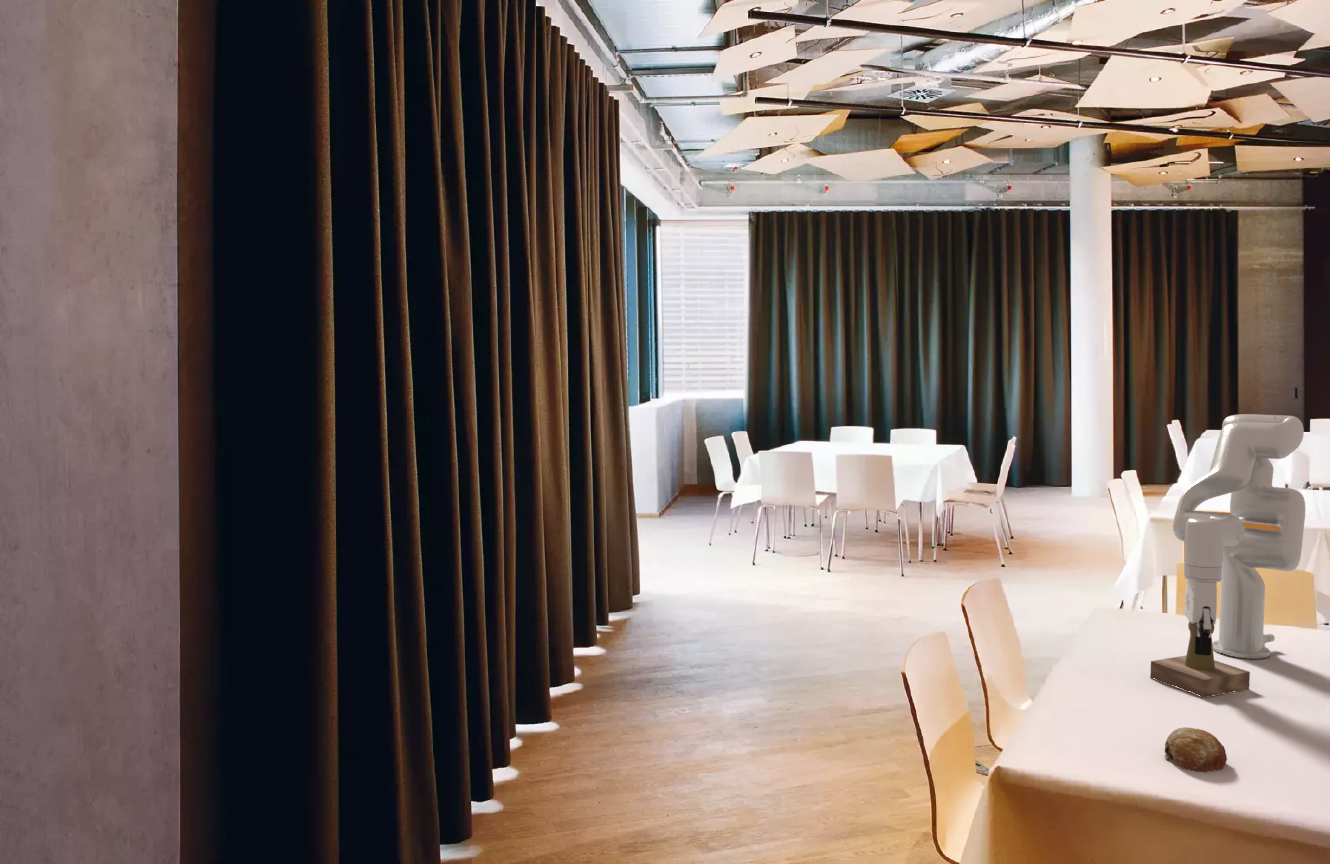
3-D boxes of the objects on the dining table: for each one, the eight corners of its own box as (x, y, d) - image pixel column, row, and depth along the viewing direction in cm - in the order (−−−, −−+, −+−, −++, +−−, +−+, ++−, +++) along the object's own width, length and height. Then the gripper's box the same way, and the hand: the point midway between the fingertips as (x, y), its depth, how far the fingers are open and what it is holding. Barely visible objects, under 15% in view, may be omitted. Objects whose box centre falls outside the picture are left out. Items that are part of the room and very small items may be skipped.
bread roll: (1161, 769, 182) (1145, 733, 181) (1208, 745, 182) (1192, 708, 181) (1194, 792, 172) (1178, 754, 171) (1244, 766, 172) (1227, 728, 172)
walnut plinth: (1194, 670, 227) (1195, 653, 227) (1249, 689, 214) (1249, 671, 214) (1150, 677, 222) (1150, 661, 222) (1203, 697, 209) (1204, 679, 209)
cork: (1207, 662, 221) (1209, 615, 220) (1219, 670, 215) (1221, 622, 214) (1180, 661, 221) (1181, 615, 220) (1191, 670, 215) (1193, 622, 214)
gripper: (1177, 563, 225) (1175, 639, 227) (1191, 579, 209) (1188, 660, 211) (1213, 565, 223) (1210, 641, 224) (1230, 581, 207) (1227, 664, 209)
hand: (1200, 650), depth 218 cm, fingers open, 4 cm apart
